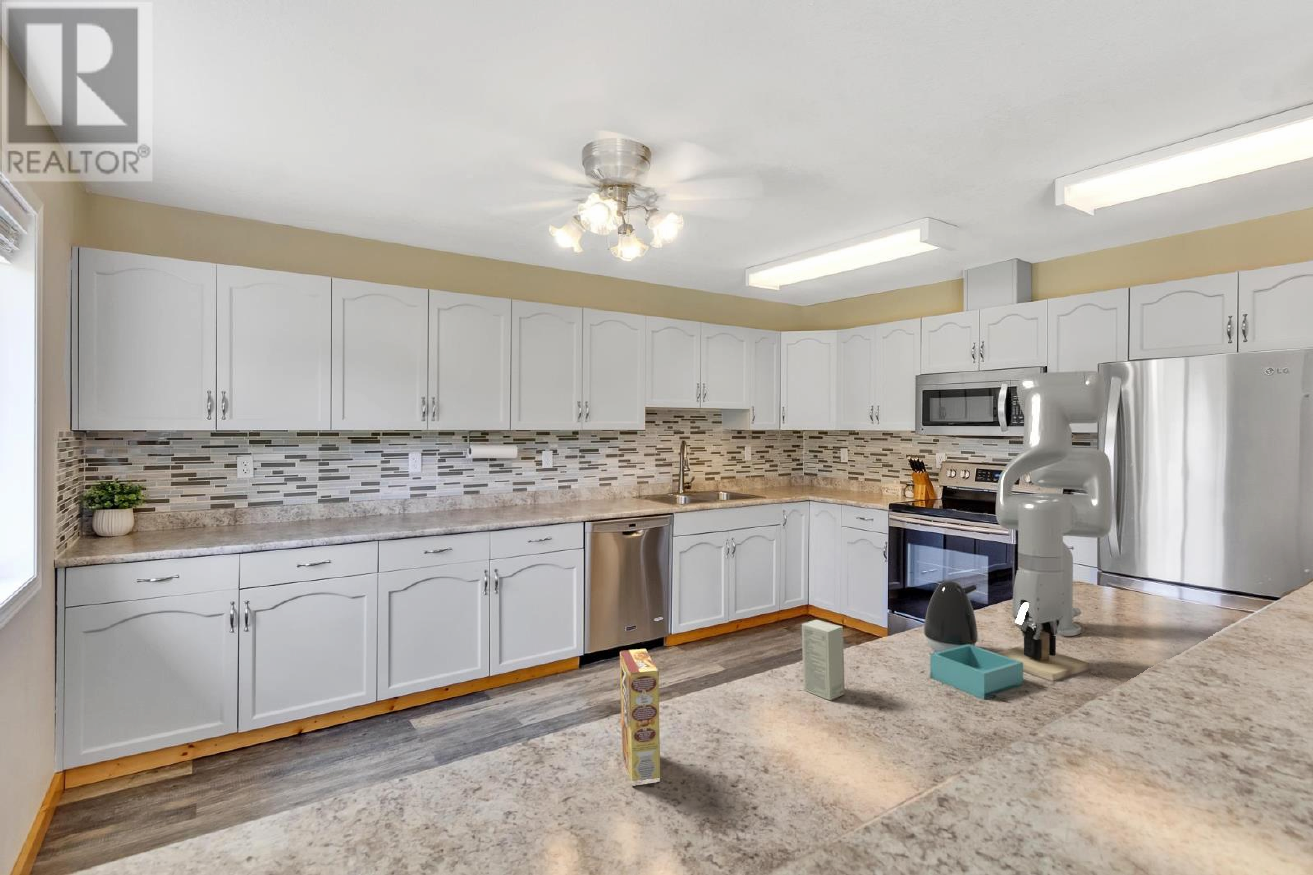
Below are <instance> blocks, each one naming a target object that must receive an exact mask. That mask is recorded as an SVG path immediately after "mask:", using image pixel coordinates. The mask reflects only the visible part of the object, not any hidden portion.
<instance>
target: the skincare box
mask: <svg viewBox="0 0 1313 875" xmlns="http://www.w3.org/2000/svg"><path fill="white" fill-rule="evenodd" d="M843 628H844V627H843V625H842V626H841V625H838V624H834V623H831V622H826V621H823V620H820V619H813V620H810V621H807V622H803V623H801V638H802V639H801V644H802V645H801V646H802V648H801V650H802V675H803V676H802V677H803V680H802V681H803V686H802V687H803V690H804V691H806V692H808V693H810V694H813V695H815V696H818V697H820V698H822V699H826V700H827V701H832V700H835V699H837V698H839V697H842V696H843V695H845V694H846V691H845V689H846V688H845V684H846V683H845V656H844V655H845V654H844V653H845V652H844V629H843Z"/></svg>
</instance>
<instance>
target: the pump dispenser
mask: <svg viewBox="0 0 1313 875" xmlns="http://www.w3.org/2000/svg"><path fill="white" fill-rule="evenodd" d="M976 590H977V585H975V584H973V585H972V584H971V585H968V586H965V587H963V586H962V585H961V584H960V583H958V582H956V581H953V580H946V581H942V582H940V583H939V584H938V585H937V587H936V588H935V590H934V592H933V594H932V596H931V598H930V601H929V603H928V606H927V610H926V614H925V619H924V626H923V634H924V636H925V638H926V642H927V644H928V645H929V647H930V648H931V649H932V650H933V651H934V653H935V652H939V651H943V650H947V649H951V648H955V647H959V646H963V645H967V644H970V645H973V646H976V643H977V642H978V640H979V634H978V633H979V632H978V631H979V630H978V625H977V620H976V615H975V611H974V608H973V605H972V602H971V600H970V598H969V596H968V594H971V593H972V592H974V591H976Z"/></svg>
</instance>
